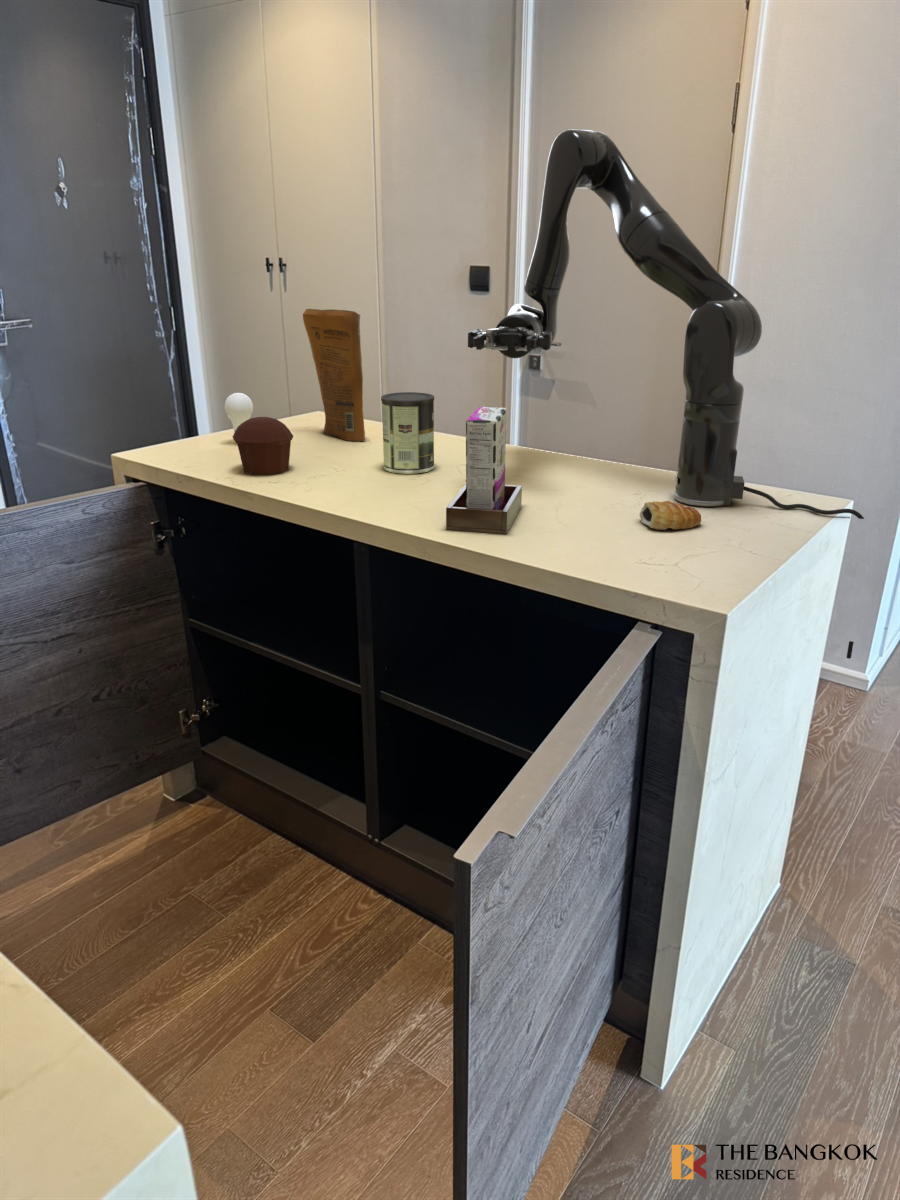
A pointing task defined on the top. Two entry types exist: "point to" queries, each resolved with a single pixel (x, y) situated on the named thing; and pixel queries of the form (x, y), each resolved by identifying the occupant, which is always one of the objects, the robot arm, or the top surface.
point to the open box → (483, 513)
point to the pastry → (669, 515)
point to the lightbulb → (238, 408)
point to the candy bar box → (486, 458)
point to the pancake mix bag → (338, 369)
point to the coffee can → (408, 432)
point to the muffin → (263, 445)
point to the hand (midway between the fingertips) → (503, 344)
